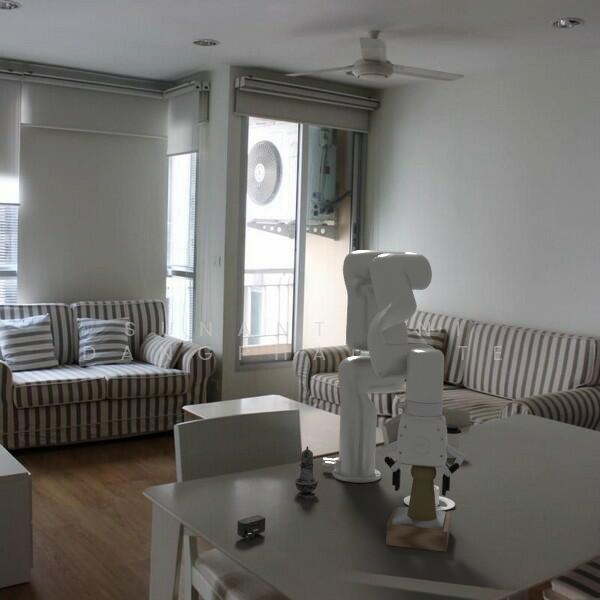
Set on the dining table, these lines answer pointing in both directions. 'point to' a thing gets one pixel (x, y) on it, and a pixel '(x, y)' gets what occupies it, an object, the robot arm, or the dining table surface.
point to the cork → (422, 494)
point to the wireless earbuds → (251, 526)
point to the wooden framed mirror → (418, 531)
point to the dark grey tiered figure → (306, 476)
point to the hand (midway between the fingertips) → (420, 491)
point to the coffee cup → (453, 437)
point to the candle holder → (437, 500)
